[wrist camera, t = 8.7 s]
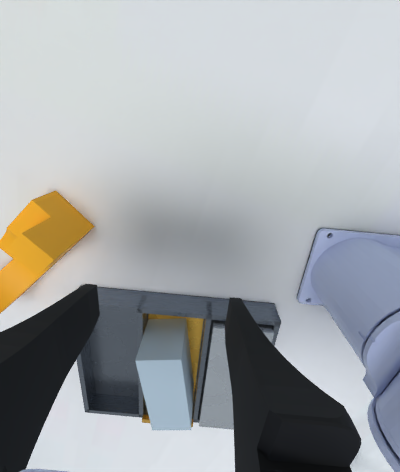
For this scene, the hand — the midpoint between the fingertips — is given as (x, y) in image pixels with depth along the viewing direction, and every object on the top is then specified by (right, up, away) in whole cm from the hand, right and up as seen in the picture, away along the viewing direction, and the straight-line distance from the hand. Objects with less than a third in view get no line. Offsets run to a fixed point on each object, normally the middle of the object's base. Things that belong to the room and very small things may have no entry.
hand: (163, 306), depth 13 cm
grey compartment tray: (-1, -10, +15) cm, 18 cm away
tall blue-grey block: (-1, -9, +14) cm, 17 cm away
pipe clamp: (-14, +3, +10) cm, 17 cm away
